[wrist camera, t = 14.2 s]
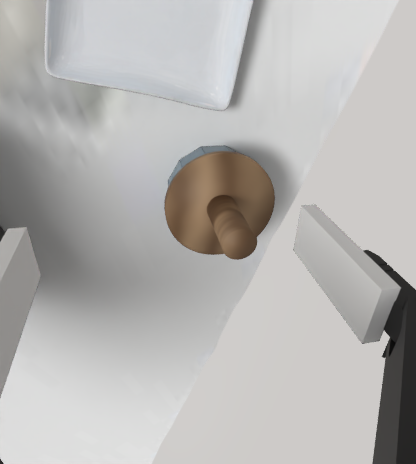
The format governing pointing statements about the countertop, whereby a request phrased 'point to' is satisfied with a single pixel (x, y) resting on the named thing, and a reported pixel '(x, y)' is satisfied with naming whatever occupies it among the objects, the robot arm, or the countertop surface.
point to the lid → (220, 204)
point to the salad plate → (150, 46)
